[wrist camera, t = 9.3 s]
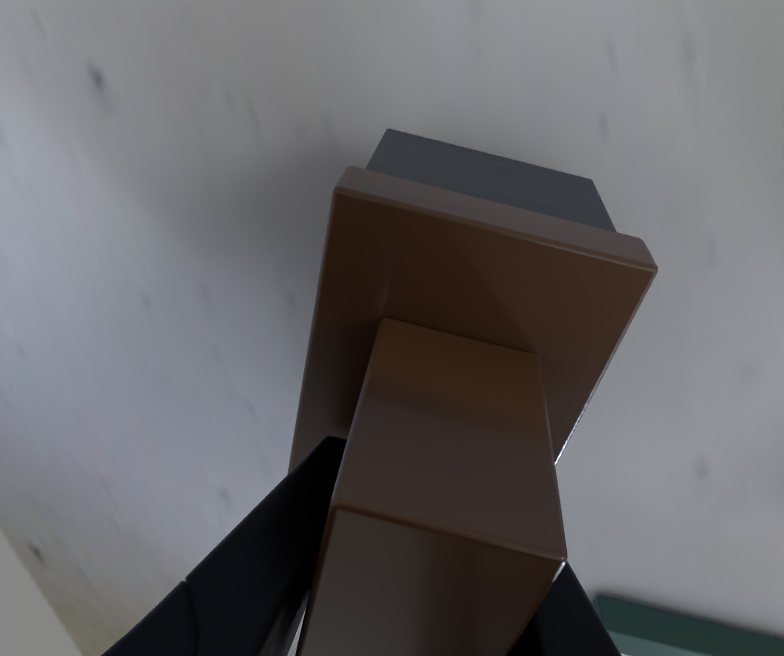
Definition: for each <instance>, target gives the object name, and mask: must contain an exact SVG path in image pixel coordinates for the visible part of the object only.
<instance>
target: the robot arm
mask: <svg viewBox="0 0 784 656" xmlns="http://www.w3.org/2000/svg"><path fill="white" fill-rule="evenodd" d="M346 443H347V440H346V439H342V438H338V437H334V436H327V437H325V438H324V439H323V440H322V441H321V442H320V443H319V444H318V445H317V446H316V447H315V448H314V449H313V450H312V451H311V452H310V453H309V454H308V455H307V456H306V457H305V458H304V459H303V460H302V461H301V462H300V463H299V464H298V465H297V466H296V467H295V468H294V469H293V470H292V471H291V472H290V473H289V474H288V475H287V476H286V477H285V478H284V479H283V480H282V481H281V482H280V483H279V484H278V485H277V486H276V487H275V488H274V489H273V490H272V491H271V492H270V493H269V494H268V495H267V496H266V497H265V498H264V499H263V500H262V501H261V502H260V503H259V504H258V505H257V506H256V507H255V508H254V509H253V510H252V511H251V512H250V513H249V514H248V515H247V516H246V517H245V518H244V519H243V520H242V521H241V522H240V523H239V524H238V525H237V526H236V527H235V528H234V529H233V530H232V531H231V532H230V533H229V534H228V535H227V536H226V537H225V538H224V539H223V540H222V541H221V542H220V543H219V544H218V545H217V546H216V547H215V548H214V549H213V550H212V551H211V552H210V553H209V554H208V555H207V556H206V557H205V558H204V559H203V560H202V561H201V562H200V563H199V564H198V565H197V566H196V567H195V568H194V569H193V570H192V571H191V572H190V573H189V574H188V575H187V577H186V579H185V581H181V582H180V583H179V584H178V585H177V586H176V587H175V588H174V589H173V590H172V591H171V592H170V593H169V594H168V595H167V596H166V597H165V598H164V599H163V600H162V601H161V602H160V603H159V604H158V605H157V606H156V607H155V608H154V609H153V610H152V611H151V612H150V613H148V614H147V615H146V616H145V617H144V618H143V619H142V620H141V621H140V622H139V623H138V624H137V625H136V626H135V627H134V628H133V629H132V630H130V631H129V632H128V633H127V634H126V635H125V636H123V637H122V638H121V639H120V640H119V641H117V642H116V643H115V644H114V645H113V646H112V647H110V648H109V649H108V650H107V651H106V652H105V653H103V654H102V655H101V656H287V655H288V652H289V649H290V647H291V644H292V642H293V639H294V637H295V634H296V632H297V629H298V627H299V624H300V621H301V619H302V616H303V614H304V611H305V609H306V606H307V602H308V598H309V593H310V589H311V584H312V580H313V576H314V571H315V567H316V563H317V558H318V554H319V549H320V545H321V541H322V536H323V532H324V528H325V523H326V519H327V515H328V510H329V506H330V501H331V498H332V494H333V490H334V487H335V483H336V479H337V476H338V472H339V468H340V465H341V461H342V458H343V454H344V450H345V447H346ZM509 656H621V654H620V652H619V650H618V649H617V647H616V645H615V643H614V642H613V640H612V638H611V636H610V635H609V633H608V631H607V629H606V628H605V626H604V624H603V622H602V621H601V619H600V617H599V615H598V614H597V612H596V610H595V608H594V607H593V605H592V603H591V602H590V600H589V598H588V596H587V595H586V593H585V591H584V589H583V588H582V586H581V584H580V582H579V581H578V579H577V577H576V575H575V574H574V572H573V570H572V568H571V567H570V565H569V563H568V561H566V564H565V566H564V567H563V569H562V570H561V572H560V574H559V575H558V577H557V579H556V580H555V582H554V583H553V585H552V587H551V588H550V590H549V591H548V593H547V595H546V596H545V598H544V599H543V601H542V603H541V604H540V606H539V607H538V609H537V611H536V612H535V614H534V615H533V617H532V619H531V620H530V622H529V624H528V625H527V627H526V628H525V630H524V632H523V633H522V635H521V636H520V638H519V640H518V641H517V643H516V644H515V646H514V648H513V649H512V651H511V652H510V654H509Z"/></svg>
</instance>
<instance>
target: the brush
mask: <svg viewBox="0 0 784 656" xmlns="http://www.w3.org/2000/svg"><path fill="white" fill-rule="evenodd" d="M657 271H658V267H657V265H656V263H655V261H654V259H653V258H652V256H651V254H650V252H649V250H648V248H647V247H646V245H645V243H644V241H643V240H642V239H640V238H637V237H633V236H629V235H625V234H621V233H617V232H616V230H615V228H614V226H613V223H612V221H611V219H610V217H609V215H608V213H607V211H606V209H605V206H604V204H603V202H602V200H601V198H600V196H599V194H598V191H597V189H596V187H595V185H594V183H593V181H592V180H591V179H588V178H584V177H580V176H576V175H572V174H568V173H564V172H560V171H556V170H552V169H548V168H544V167H540V166H536V165H532V164H528V163H524V162H520V161H516V160H512V159H508V158H504V157H500V156H496V155H492V154H488V153H484V152H480V151H476V150H472V149H468V148H464V147H460V146H456V145H452V144H448V143H444V142H440V141H436V140H432V139H429V138H425V137H421V136H417V135H413V134H409V133H405V132H401V131H397V130H393V129H387V130H386V131H385V133H384V135H383V137H382V139H381V141H380V142H379V144H378V146H377V148H376V150H375V152H374V154H373V156H372V158H371V159H370V161H369V163H368V165H367V167H366V169H362V168H358V167H354V166H350V167H347V169H346V170H345V172H344V173H343V175H342V177H341V178H340V180H339V181H338V183H337V185H336V186H335V188H334V190H333V194H332V200H331V206H330V213H329V219H328V225H327V231H326V238H325V244H324V250H323V256H322V262H321V269H320V275H319V281H318V287H317V294H316V300H315V306H314V312H313V318H312V325H311V331H310V337H309V343H308V350H307V356H306V362H305V368H304V375H303V381H302V387H301V393H300V399H299V406H298V412H297V418H296V424H295V431H294V437H293V443H292V449H291V455H290V462H289V468H288V474H289V473H290V472H291V471H292V470H293V469H294V468H295V467H296V466H297V465H298V464H299V463H300V462H301V461H302V460H303V459H304V458H305V457H306V456H307V455H308V454H309V453H310V452H311V451H312V450H313V449H314V448H315V447H316V446H317V445H318V444H319V443H320V442H321V441H322V440H323V439H324V438H325V437H327V436H334V437H338V438H342V439H346V440H347V443H346V447H345V450H344V454H343V458H342V461H341V465H340V468H339V472H338V476H337V479H336V483H335V487H334V490H333V494H332V498H331V501H330V506H329V510H328V515H327V519H326V523H325V528H324V532H323V536H322V541H321V545H320V549H319V554H318V558H317V563H316V567H315V571H314V576H313V580H312V584H311V589H310V593H309V598H308V602H307V606H306V611H305V615H304V619H303V624H302V628H301V633H300V637H299V641H298V646H297V650H296V654H295V656H509V654H510V652H511V651H512V649H513V648H514V646H515V644H516V643H517V641H518V640H519V638H520V636H521V635H522V633H523V632H524V630H525V628H526V627H527V625H528V624H529V622H530V620H531V619H532V617H533V615H534V614H535V612H536V611H537V609H538V607H539V606H540V604H541V603H542V601H543V599H544V598H545V596H546V595H547V593H548V591H549V590H550V588H551V587H552V585H553V583H554V582H555V580H556V579H557V577H558V575H559V574H560V572H561V570H562V569H563V567H564V566H565V564H566V561H567V559H568V558H567V548H566V541H565V534H564V527H563V519H562V512H561V505H560V498H559V490H558V483H557V476H556V469H555V466H556V464H557V462H558V460H559V458H560V456H561V455H562V453H563V451H564V449H565V447H566V445H567V443H568V441H569V439H570V437H571V436H572V434H573V432H574V430H575V428H576V426H577V424H578V422H579V420H580V418H581V417H582V415H583V413H584V411H585V409H586V407H587V405H588V403H589V401H590V399H591V397H592V396H593V394H594V392H595V390H596V388H597V386H598V384H599V382H600V380H601V378H602V377H603V375H604V373H605V371H606V369H607V367H608V365H609V363H610V361H611V359H612V357H613V356H614V354H615V352H616V350H617V348H618V346H619V344H620V342H621V340H622V338H623V337H624V335H625V333H626V331H627V329H628V327H629V325H630V323H631V321H632V319H633V318H634V316H635V314H636V312H637V310H638V308H639V306H640V304H641V302H642V300H643V298H644V297H645V295H646V293H647V291H648V289H649V287H650V285H651V283H652V281H653V279H654V278H655V276H656V274H657ZM288 474H287V475H288Z"/></svg>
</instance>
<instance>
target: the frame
mask: <svg viewBox="0 0 784 656" xmlns="http://www.w3.org/2000/svg"><path fill="white" fill-rule="evenodd" d="M592 605H593V607H594V608H595V610H596V612H597V614H598V615H599V617H600V619H601V621H602V622H603V624H604V626H605V628H606V629H607V631H608V633H609V635H610V636H611V638H612V640H613V642H614V643H615V645H616V647H617V649H618V650H619V652H620V653H623V654H627V655H631V656H784V641H783V640H778V639H774V638H770V637H766V636H762V635H758V634H754V633H750V632H746V631H742V630H738V629H734V628H729V627H725V626H721V625H717V624H713V623H709V622H705V621H701V620H697V619H693V618H689V617H685V616H680V615H676V614H672V613H668V612H664V611H660V610H656V609H652V608H648V607H644V606H640V605H635V604H631V603H627V602H623V601H619V600H615V599H611V598H607V597H603V596H597V598H596V599H595V601H594V602H593V603H592Z"/></svg>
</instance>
